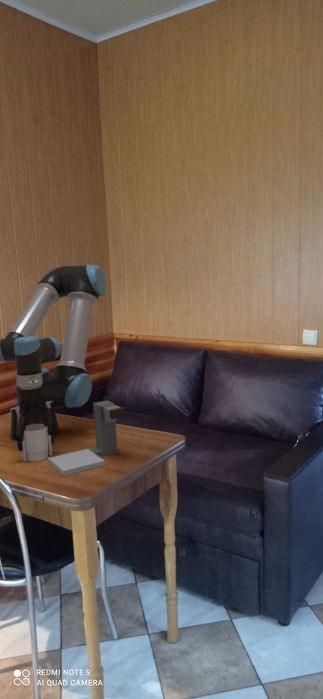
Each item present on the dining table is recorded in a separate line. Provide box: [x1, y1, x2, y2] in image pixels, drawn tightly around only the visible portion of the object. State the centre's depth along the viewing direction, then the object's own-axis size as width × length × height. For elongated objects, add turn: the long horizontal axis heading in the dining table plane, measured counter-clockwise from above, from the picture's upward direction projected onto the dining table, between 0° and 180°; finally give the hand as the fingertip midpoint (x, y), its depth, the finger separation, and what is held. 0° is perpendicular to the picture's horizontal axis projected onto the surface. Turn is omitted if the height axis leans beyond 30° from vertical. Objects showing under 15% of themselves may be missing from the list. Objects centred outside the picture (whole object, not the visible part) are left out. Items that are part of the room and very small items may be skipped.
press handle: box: [101, 403, 127, 423], centre depth 163 cm, size 8×4×5 cm, turn 31°
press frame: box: [47, 400, 118, 477], centre depth 162 cm, size 13×21×16 cm, turn 121°
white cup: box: [23, 424, 49, 462], centre depth 168 cm, size 8×8×10 cm
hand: (37, 457), depth 168 cm, fingers closed on white cup, 7 cm apart
